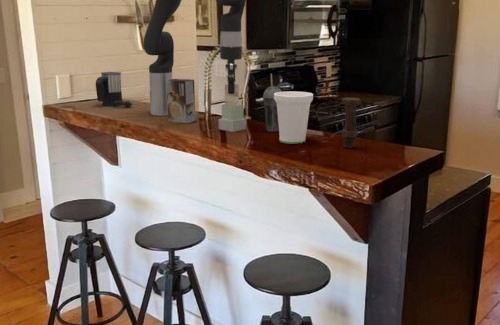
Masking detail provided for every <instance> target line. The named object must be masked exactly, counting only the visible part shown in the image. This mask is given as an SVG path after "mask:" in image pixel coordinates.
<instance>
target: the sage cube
mask: <svg viewBox="0 0 500 325" xmlns="http://www.w3.org/2000/svg"><path fill="white" fill-rule="evenodd" d="M221 118H222V119H226V120H230V121H233V120H240V119H243V118H244V105H243V104H239V106H225V103H224V104H221Z"/></svg>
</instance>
